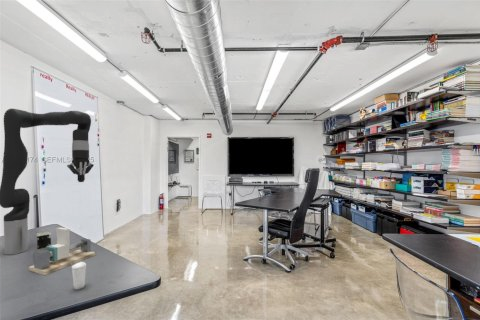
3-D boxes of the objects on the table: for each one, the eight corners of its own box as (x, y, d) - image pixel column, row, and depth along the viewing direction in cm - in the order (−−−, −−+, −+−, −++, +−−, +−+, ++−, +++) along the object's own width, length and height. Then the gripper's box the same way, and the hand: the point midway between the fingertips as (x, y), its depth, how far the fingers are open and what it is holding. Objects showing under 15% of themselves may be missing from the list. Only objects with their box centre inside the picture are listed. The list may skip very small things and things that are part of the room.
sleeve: (60, 254, 113) (60, 227, 113) (70, 256, 110) (69, 228, 110) (48, 258, 108) (48, 230, 108) (58, 260, 105) (57, 231, 105)
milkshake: (74, 284, 91) (74, 258, 90) (89, 283, 91) (88, 258, 91) (66, 291, 86) (66, 263, 86) (82, 290, 86) (81, 263, 86)
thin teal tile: (49, 258, 108) (49, 245, 108) (57, 260, 106) (57, 247, 106) (46, 259, 107) (46, 246, 107) (54, 261, 104) (54, 248, 104)
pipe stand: (79, 251, 123) (79, 235, 123) (95, 255, 119) (95, 238, 119) (28, 270, 103) (28, 251, 103) (45, 275, 98) (44, 254, 98)
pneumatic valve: (37, 259, 114) (37, 235, 114) (36, 252, 123) (36, 230, 123) (52, 256, 118) (51, 232, 118) (50, 250, 127) (49, 227, 127)
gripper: (88, 150, 133) (88, 180, 133) (62, 149, 121) (63, 182, 121) (97, 149, 130) (97, 181, 130) (72, 148, 118) (72, 183, 118)
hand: (81, 181), depth 125 cm, fingers closed
